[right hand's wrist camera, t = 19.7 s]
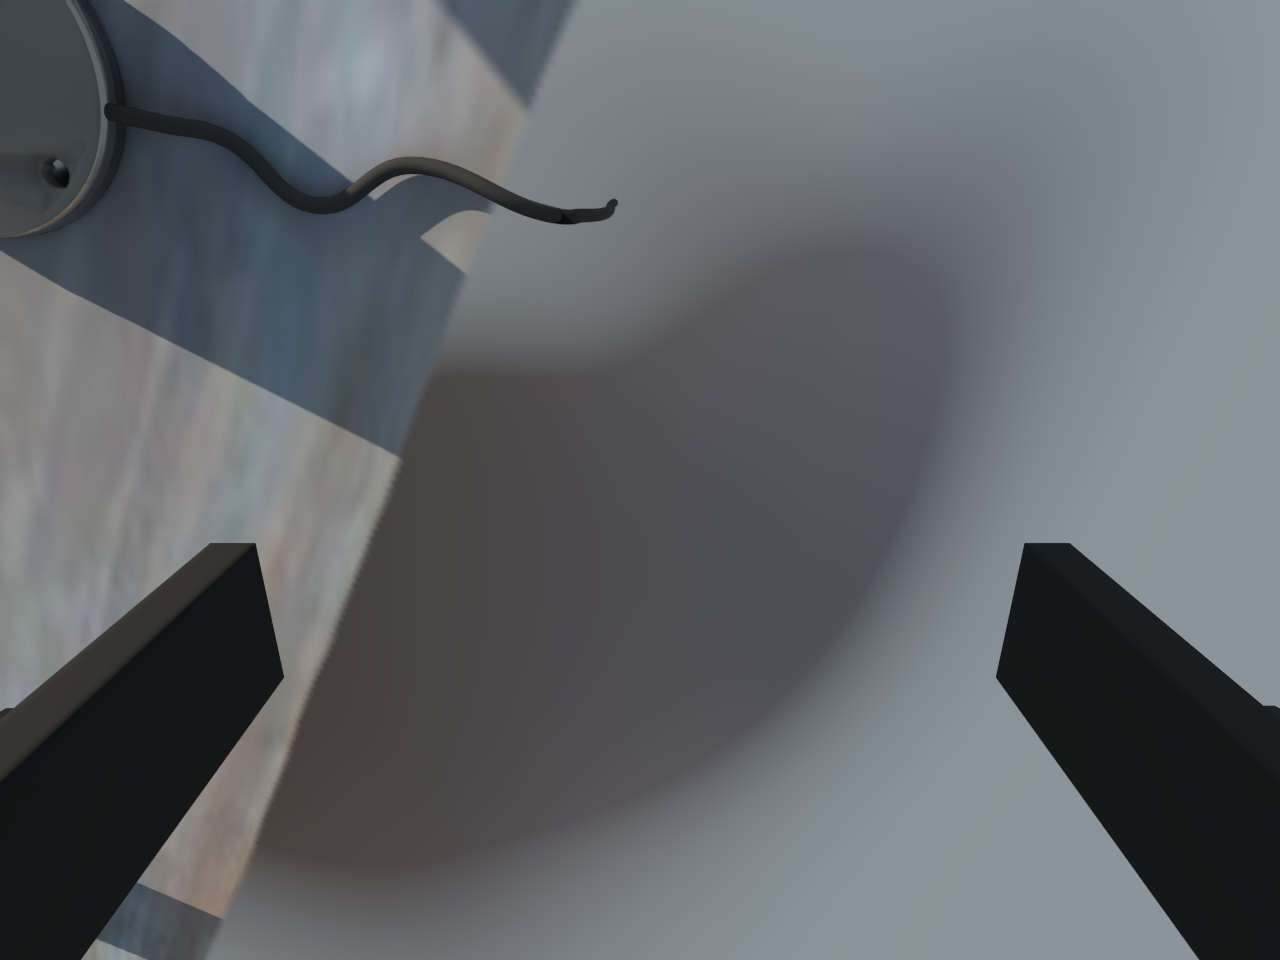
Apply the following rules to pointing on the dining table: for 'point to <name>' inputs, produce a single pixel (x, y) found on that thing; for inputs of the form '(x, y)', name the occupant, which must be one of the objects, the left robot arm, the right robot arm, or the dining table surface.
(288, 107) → the dining table surface
